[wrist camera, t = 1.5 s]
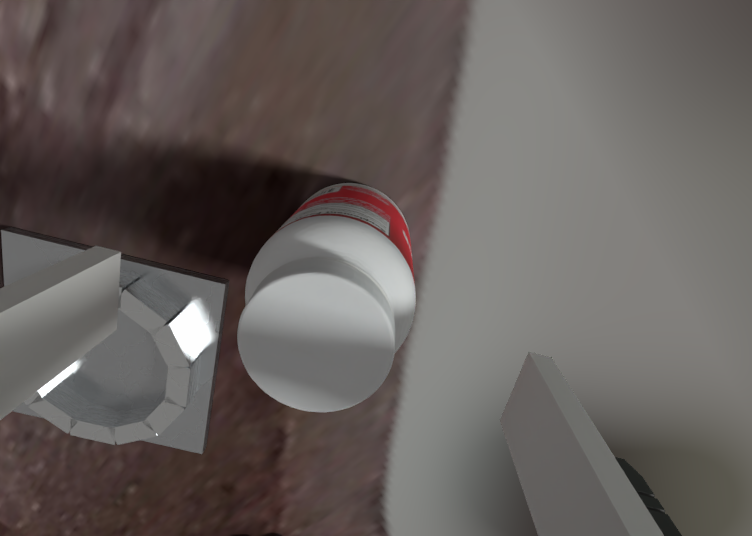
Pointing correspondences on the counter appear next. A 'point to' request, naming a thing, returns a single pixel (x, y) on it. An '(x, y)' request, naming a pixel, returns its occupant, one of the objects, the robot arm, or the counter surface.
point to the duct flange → (134, 352)
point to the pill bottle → (329, 300)
